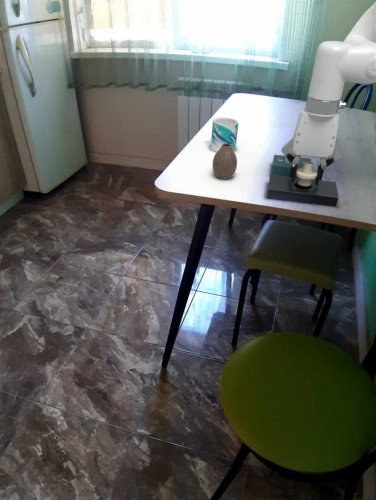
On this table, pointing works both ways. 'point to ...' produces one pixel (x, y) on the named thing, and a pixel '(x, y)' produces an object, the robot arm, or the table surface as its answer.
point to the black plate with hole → (302, 191)
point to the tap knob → (293, 155)
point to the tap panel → (284, 165)
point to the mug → (224, 133)
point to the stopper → (306, 174)
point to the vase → (225, 162)
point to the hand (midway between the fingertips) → (304, 180)
